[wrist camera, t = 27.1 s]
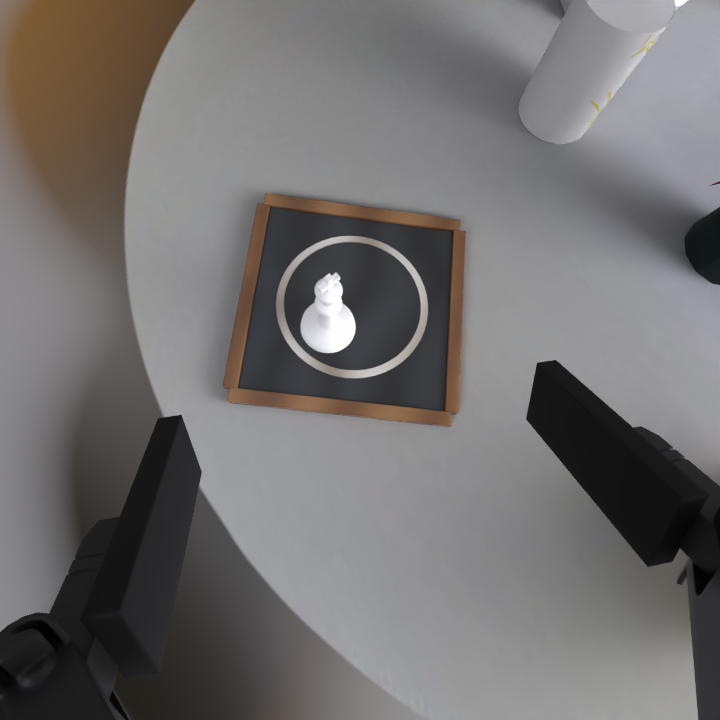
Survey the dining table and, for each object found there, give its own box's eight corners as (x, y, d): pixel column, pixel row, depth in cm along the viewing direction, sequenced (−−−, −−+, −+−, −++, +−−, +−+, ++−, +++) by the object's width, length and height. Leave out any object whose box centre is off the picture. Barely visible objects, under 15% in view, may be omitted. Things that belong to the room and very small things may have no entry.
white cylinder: (579, 154, 45) (667, 46, 34) (510, 128, 45) (573, 11, 34) (594, 100, 47) (681, -19, 36) (528, 75, 48) (593, -52, 36)
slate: (222, 402, 35) (219, 400, 35) (260, 198, 41) (259, 192, 40) (455, 427, 36) (458, 426, 36) (463, 225, 42) (466, 220, 41)
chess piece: (289, 323, 37) (276, 272, 27) (331, 291, 38) (333, 231, 28) (324, 364, 36) (324, 326, 27) (366, 330, 37) (380, 282, 28)
